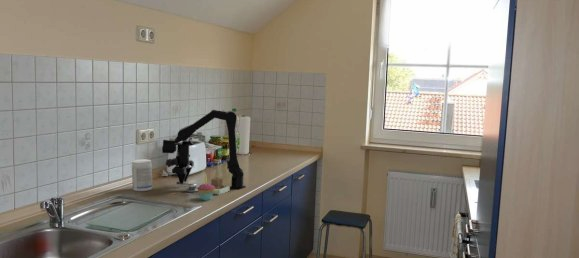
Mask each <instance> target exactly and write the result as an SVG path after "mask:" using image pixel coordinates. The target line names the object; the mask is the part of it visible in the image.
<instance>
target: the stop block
mask: <svg viewBox="0 0 579 258" xmlns="http://www.w3.org/2000/svg"><path fill="white" fill-rule="evenodd" d="M210 182H211V185H213V186H214V187H215V189H218V190H219V189H222V188H223V186H224V185H223V184H224V183H223V182H224V179H223V178H221V177H214V178H212V179H211V181H210Z"/></svg>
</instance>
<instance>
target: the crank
mask: <svg viewBox="0 0 579 258" xmlns="http://www.w3.org/2000/svg"><path fill="white" fill-rule="evenodd" d="M174 185H175V188H198V187H197V185H198V184H197V183H193V182H192V183H191V182H190V183H186V182H183V183H180V182H179V181H176V183H175V184H174Z"/></svg>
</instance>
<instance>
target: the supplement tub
mask: <svg viewBox="0 0 579 258" xmlns="http://www.w3.org/2000/svg"><path fill="white" fill-rule="evenodd" d="M152 166H153V165H152V160H151V159H145V158H144V159H143V158H142V159H133V160H132V161H131V178H132V179H131V180H132V190H133V191H134V192H147V191H151V190H152V189H153V172H152V171H153V167H152Z"/></svg>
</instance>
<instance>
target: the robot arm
mask: <svg viewBox="0 0 579 258" xmlns="http://www.w3.org/2000/svg"><path fill="white" fill-rule="evenodd" d="M214 119H218V120H223V121H225V124H226V127H227V135H228V136H227V138H228V139H227V140H228V153H229V156H228V158H225V159H226V169H227V170H228V172H229V173H230V174H231V183H230V189H237V190H240V189H244V188H246V187H247V186H246V185H244V176H245V175H244V174H245V173H244V170H243V169H242V168H241V167H240V165H239V160H238V159H239V158H238V156H237V144H236V143H237V142H236V141H237V140H236V139H237V138H236V125H237V114H236V113H235V111H233V110H228V111H223V110H218V109H217V110H216V109H212V110H210V111H209V112H208V113H207V114H205V115H204V116H202V117H200V119H199V118H198V120H196V121H195V122H193V123H192V124H190V125H186V126H184V127H182V128H180V129H178V131H177V135H176V137H175V138H174V139H163V140H162V149H161V152H162V154H175V152H177V155H176V156H175V157H174V158H168V159H166V161H165V166H167V168H170V167H173V166H174V167H173V168H172V169H171V174H175V175H176V176H177V178H178V182H180V183H186V182H187V181H188V178H189V175H190V173H191V171H192V169H193V167H194V166H195V162H194V161H193V160H191V159H190V157H191V154H190V146H193V145H194V143H193V142H192V141H191V139H190V137H192V135H194V133H195V132H196V131H197V130H199V129H200V128H202V127H203V126H205V125H207V124H208V123H209V122H211V121H212V120H214ZM188 139H189V140H188ZM190 166H191V167H190Z"/></svg>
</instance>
